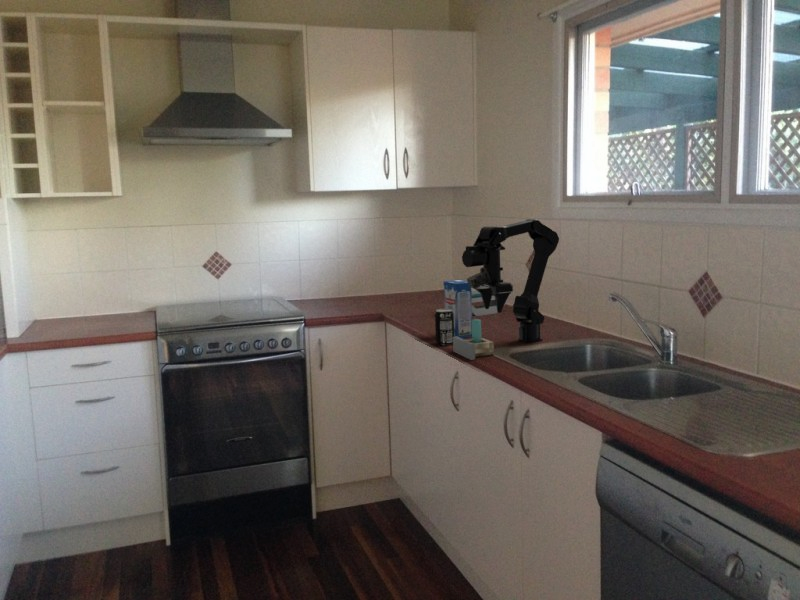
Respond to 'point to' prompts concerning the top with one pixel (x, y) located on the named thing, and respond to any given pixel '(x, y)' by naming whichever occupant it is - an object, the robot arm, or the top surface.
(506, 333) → the top surface
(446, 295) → the milk carton
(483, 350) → the sliding block
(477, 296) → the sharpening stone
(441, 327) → the beverage can
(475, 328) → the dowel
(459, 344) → the wall
